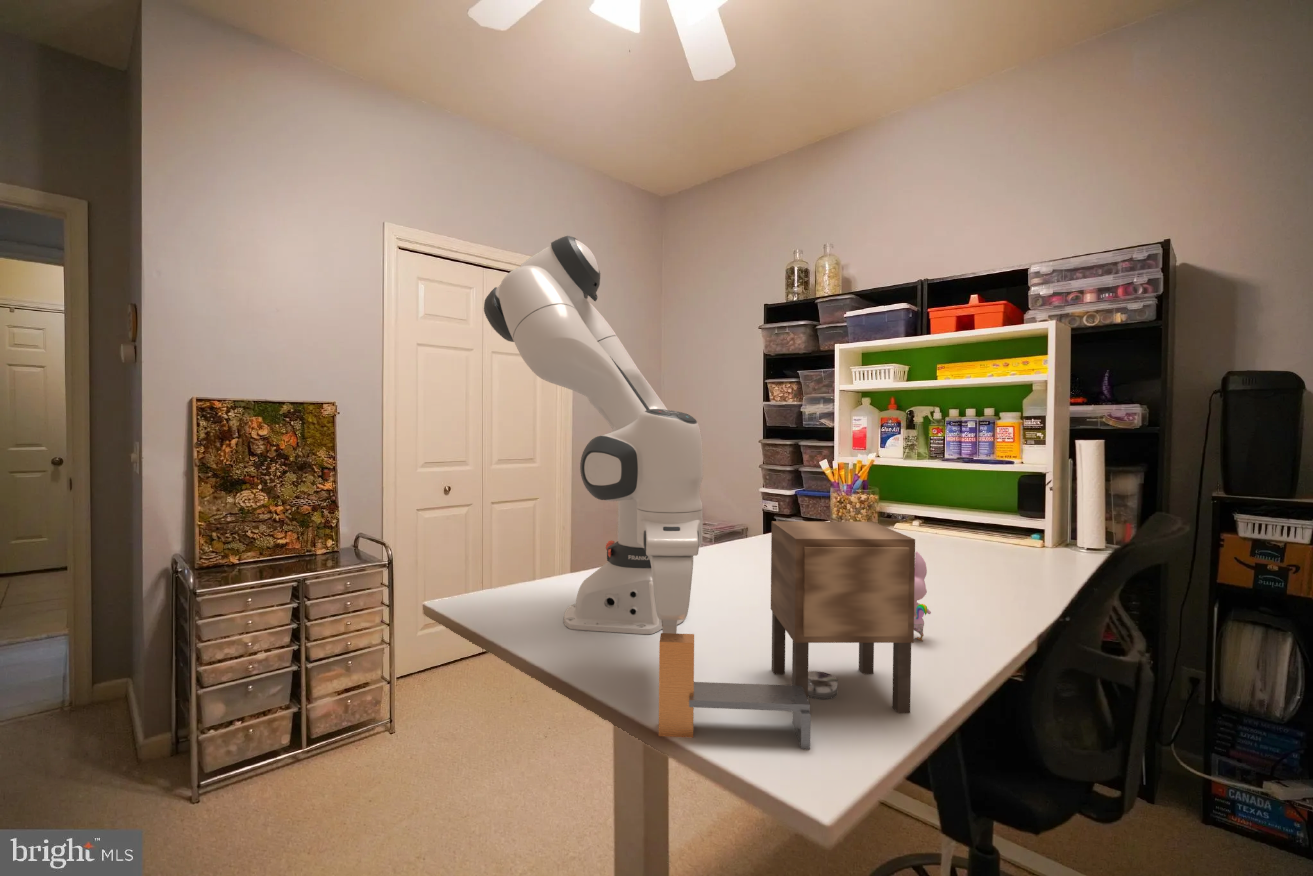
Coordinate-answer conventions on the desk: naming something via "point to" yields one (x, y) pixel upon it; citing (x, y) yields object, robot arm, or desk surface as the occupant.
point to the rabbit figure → (919, 594)
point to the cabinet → (843, 595)
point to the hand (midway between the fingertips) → (668, 632)
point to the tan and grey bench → (716, 693)
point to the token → (822, 685)
